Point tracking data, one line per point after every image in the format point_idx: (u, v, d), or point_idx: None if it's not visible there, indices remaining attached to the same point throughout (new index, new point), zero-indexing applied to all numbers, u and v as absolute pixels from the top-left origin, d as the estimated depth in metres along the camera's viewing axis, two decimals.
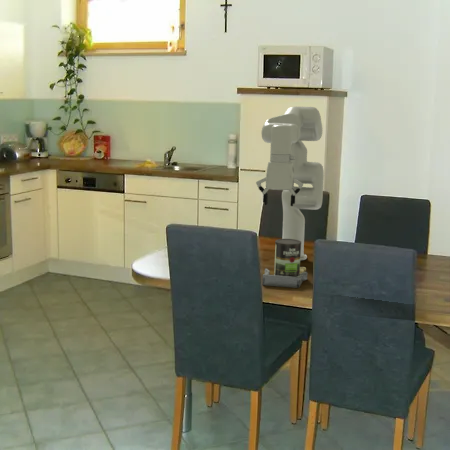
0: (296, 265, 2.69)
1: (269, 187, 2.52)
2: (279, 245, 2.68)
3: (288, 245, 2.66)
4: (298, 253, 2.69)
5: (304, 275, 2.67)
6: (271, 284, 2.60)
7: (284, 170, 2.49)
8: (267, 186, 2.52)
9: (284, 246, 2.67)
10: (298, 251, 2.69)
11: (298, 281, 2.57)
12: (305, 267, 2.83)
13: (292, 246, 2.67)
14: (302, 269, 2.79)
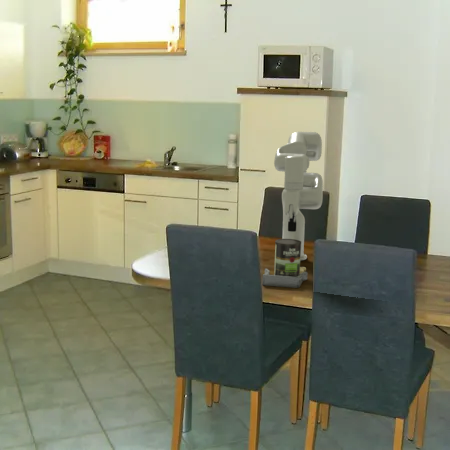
0: (296, 265, 2.69)
1: (296, 213, 2.75)
2: (278, 245, 2.68)
3: (288, 245, 2.66)
4: (298, 253, 2.69)
5: (304, 275, 2.67)
6: (271, 284, 2.60)
7: None
8: (296, 213, 2.74)
9: (284, 246, 2.67)
10: (298, 251, 2.69)
11: (298, 281, 2.57)
12: (305, 267, 2.83)
13: (292, 246, 2.67)
14: (302, 269, 2.79)
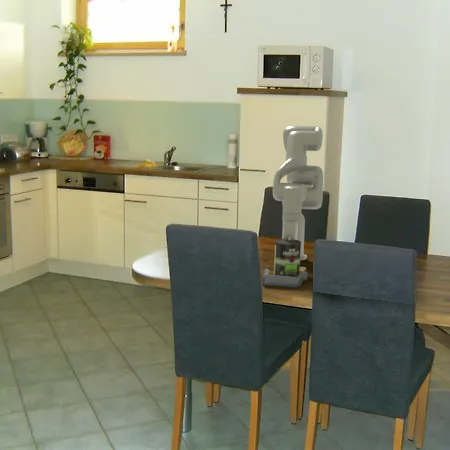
0: (296, 266, 2.69)
1: None
2: (278, 245, 2.68)
3: (288, 245, 2.66)
4: (298, 253, 2.69)
5: (304, 275, 2.67)
6: (271, 284, 2.60)
7: None
8: None
9: (284, 246, 2.66)
10: (298, 251, 2.68)
11: (298, 281, 2.57)
12: (305, 267, 2.83)
13: (292, 246, 2.66)
14: (302, 269, 2.79)
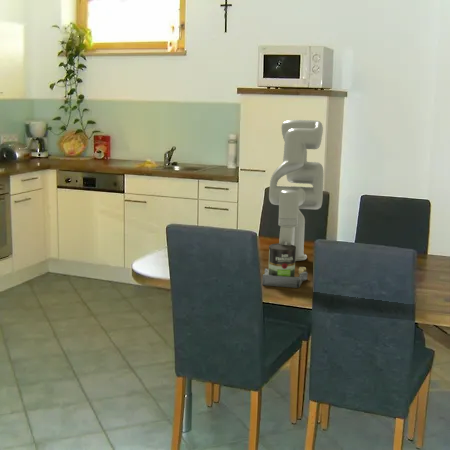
0: (289, 272, 2.59)
1: None
2: (271, 250, 2.59)
3: (280, 251, 2.57)
4: (291, 259, 2.59)
5: (304, 275, 2.67)
6: (271, 284, 2.60)
7: (294, 230, 2.70)
8: None
9: (276, 251, 2.58)
10: (291, 257, 2.59)
11: (298, 281, 2.57)
12: (305, 267, 2.83)
13: (284, 252, 2.57)
14: (302, 269, 2.79)
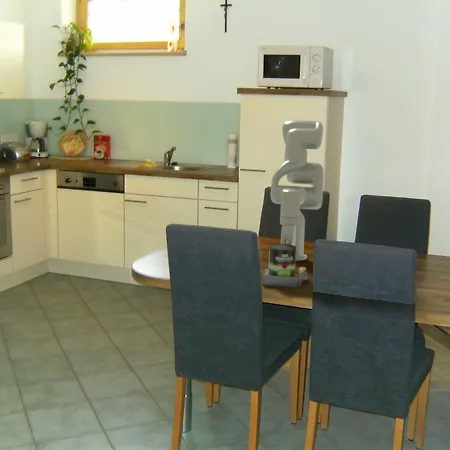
0: (289, 272, 2.60)
1: None
2: (271, 250, 2.60)
3: (280, 250, 2.57)
4: (292, 259, 2.59)
5: (304, 275, 2.67)
6: (271, 284, 2.60)
7: None
8: None
9: (276, 251, 2.58)
10: (291, 257, 2.59)
11: (298, 281, 2.57)
12: (305, 267, 2.83)
13: (284, 252, 2.57)
14: (302, 269, 2.79)
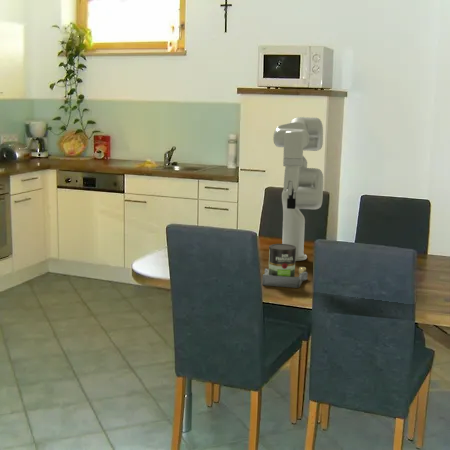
0: (289, 272, 2.60)
1: (295, 190, 2.69)
2: (271, 250, 2.60)
3: (280, 250, 2.57)
4: (292, 259, 2.59)
5: (304, 275, 2.67)
6: (271, 284, 2.60)
7: None
8: (295, 189, 2.68)
9: (276, 251, 2.58)
10: (291, 257, 2.59)
11: (298, 281, 2.57)
12: (305, 267, 2.83)
13: (284, 252, 2.57)
14: (302, 269, 2.79)
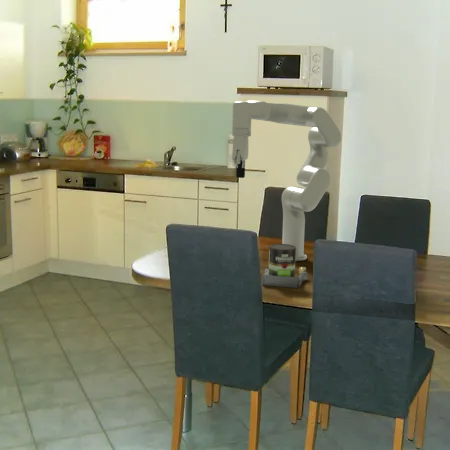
0: (289, 272, 2.60)
1: (244, 159, 2.76)
2: (271, 250, 2.60)
3: (280, 250, 2.57)
4: (292, 259, 2.59)
5: (304, 275, 2.67)
6: (271, 284, 2.60)
7: None
8: (243, 158, 2.75)
9: (276, 251, 2.58)
10: (291, 257, 2.59)
11: (298, 281, 2.57)
12: (305, 267, 2.83)
13: (284, 252, 2.57)
14: (302, 269, 2.79)
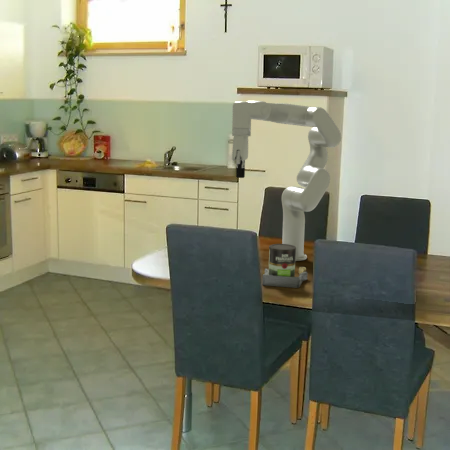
0: (289, 272, 2.60)
1: (243, 159, 2.76)
2: (271, 250, 2.60)
3: (280, 250, 2.57)
4: (292, 259, 2.59)
5: (304, 275, 2.67)
6: (271, 284, 2.60)
7: None
8: (243, 158, 2.75)
9: (276, 251, 2.58)
10: (291, 257, 2.59)
11: (298, 281, 2.57)
12: (305, 267, 2.83)
13: (284, 252, 2.57)
14: (302, 269, 2.79)
